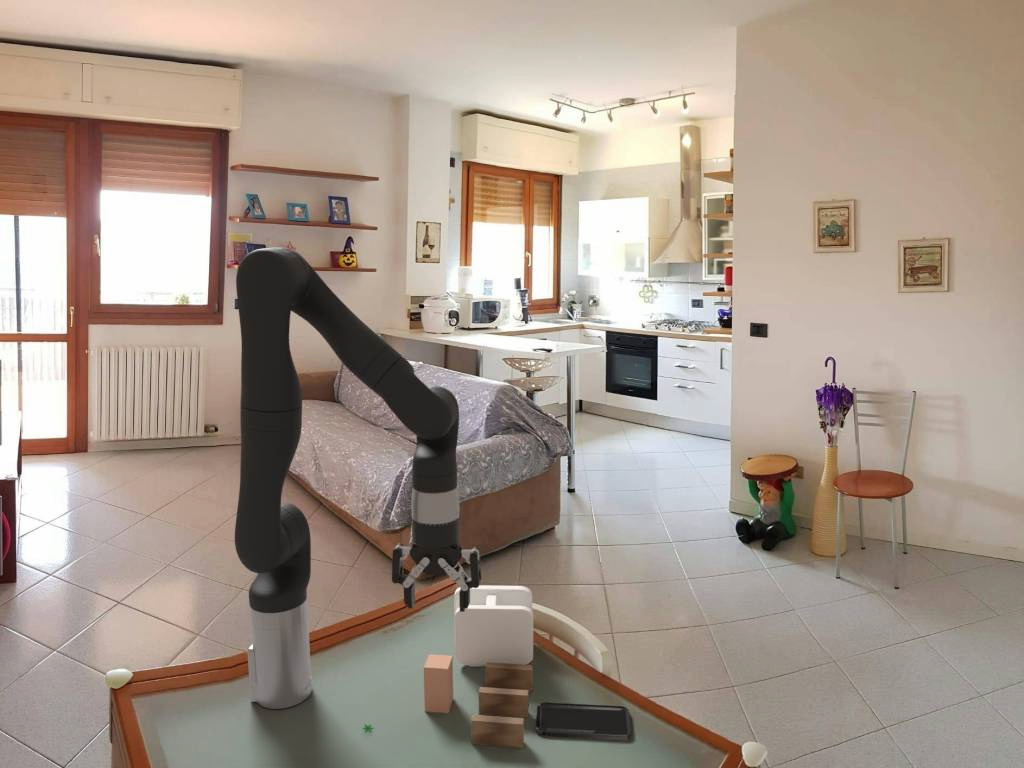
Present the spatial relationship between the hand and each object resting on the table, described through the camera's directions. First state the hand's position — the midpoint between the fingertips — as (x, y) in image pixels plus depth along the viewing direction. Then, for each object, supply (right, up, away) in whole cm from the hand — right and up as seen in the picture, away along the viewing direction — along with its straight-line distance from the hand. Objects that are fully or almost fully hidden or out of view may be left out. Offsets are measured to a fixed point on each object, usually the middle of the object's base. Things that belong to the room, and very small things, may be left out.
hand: (437, 607), depth 126 cm
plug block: (0, -17, +3) cm, 18 cm away
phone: (+24, -19, -1) cm, 30 cm away
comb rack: (+11, -18, +1) cm, 21 cm away
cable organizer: (+9, -14, +19) cm, 26 cm away
